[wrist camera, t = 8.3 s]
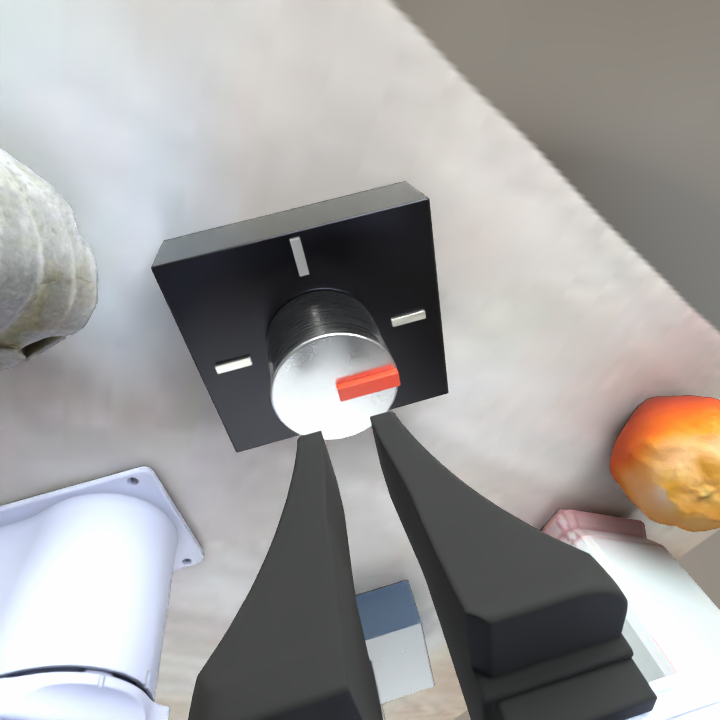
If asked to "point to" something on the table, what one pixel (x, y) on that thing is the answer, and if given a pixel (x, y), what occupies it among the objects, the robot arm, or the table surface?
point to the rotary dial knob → (328, 366)
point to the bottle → (647, 592)
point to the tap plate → (300, 276)
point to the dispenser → (395, 642)
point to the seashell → (39, 266)
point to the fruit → (672, 461)
